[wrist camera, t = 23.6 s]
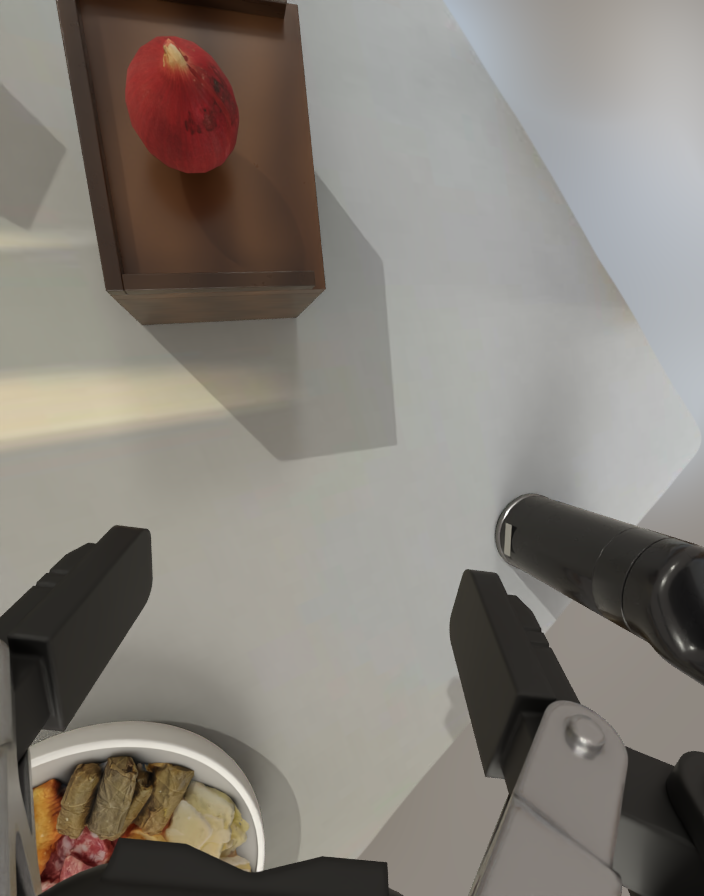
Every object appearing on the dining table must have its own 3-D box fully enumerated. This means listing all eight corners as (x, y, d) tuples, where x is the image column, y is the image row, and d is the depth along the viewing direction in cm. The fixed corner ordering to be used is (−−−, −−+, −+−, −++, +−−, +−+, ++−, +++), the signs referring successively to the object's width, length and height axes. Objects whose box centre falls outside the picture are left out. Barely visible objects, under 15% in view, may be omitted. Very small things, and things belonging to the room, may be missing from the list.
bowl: (119, 640, 41) (97, 695, 33) (314, 805, 49) (332, 878, 42) (-176, 895, 36) (-278, 1025, 29) (95, 1029, 45) (70, 1156, 37)
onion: (241, 116, 28) (250, 13, 20) (229, 207, 28) (234, 138, 21) (143, 82, 26) (114, -45, 19) (133, 179, 27) (100, 94, 19)
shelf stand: (274, 116, 40) (301, -12, 27) (296, 317, 42) (329, 285, 30) (105, 102, 36) (45, -56, 23) (141, 325, 38) (105, 291, 26)
